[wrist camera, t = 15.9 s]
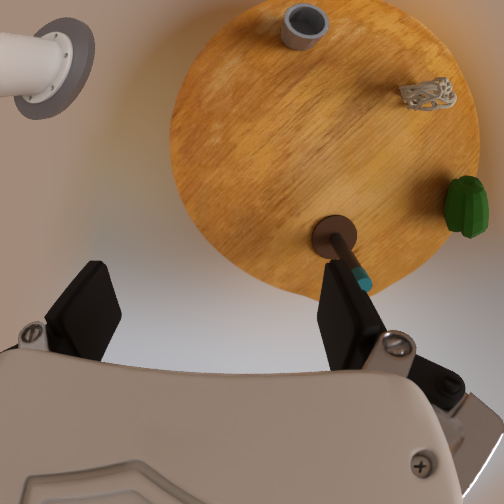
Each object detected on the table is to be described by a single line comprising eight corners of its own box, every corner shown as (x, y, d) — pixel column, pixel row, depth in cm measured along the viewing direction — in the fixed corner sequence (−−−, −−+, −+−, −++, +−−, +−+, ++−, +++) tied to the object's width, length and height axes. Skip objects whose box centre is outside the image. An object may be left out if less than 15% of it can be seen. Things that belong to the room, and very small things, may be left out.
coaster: (309, 257, 41) (310, 259, 41) (313, 214, 38) (314, 215, 38) (352, 257, 41) (353, 259, 41) (359, 215, 38) (360, 216, 37)
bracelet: (436, 99, 29) (468, 101, 22) (398, 113, 31) (429, 115, 23) (426, 75, 27) (458, 72, 20) (387, 88, 29) (417, 84, 22)
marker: (327, 245, 40) (352, 295, 29) (329, 231, 39) (356, 278, 28) (341, 245, 40) (369, 294, 29) (343, 232, 39) (374, 277, 28)
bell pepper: (447, 197, 30) (445, 251, 35) (496, 197, 25) (488, 251, 30) (440, 170, 35) (441, 220, 40) (482, 170, 30) (480, 220, 36)
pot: (280, 49, 27) (284, 36, 22) (279, 18, 25) (283, 1, 20) (318, 52, 27) (330, 41, 22) (317, 21, 25) (328, 6, 20)
